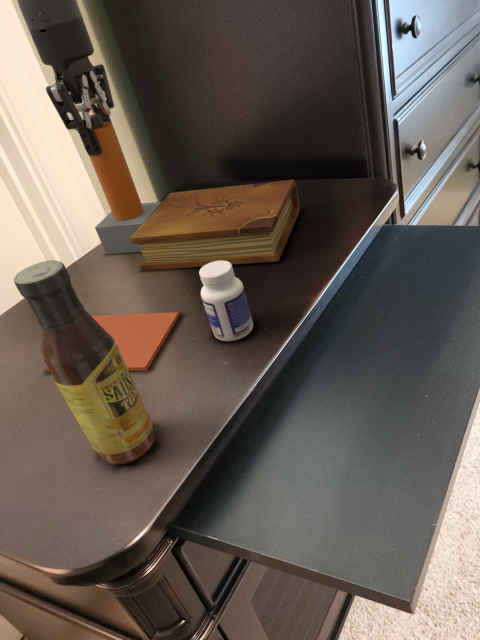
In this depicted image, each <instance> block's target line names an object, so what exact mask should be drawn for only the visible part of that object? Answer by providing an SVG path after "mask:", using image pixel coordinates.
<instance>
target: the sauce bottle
mask: <svg viewBox="0 0 480 640" xmlns="http://www.w3.org/2000/svg"><path fill="white" fill-rule="evenodd" d="M71 281H72V280H71V275H70V273H69V271H68V269H67V266H65V264H64V262H62V261H59V260H56V259H50V260H44V261H41V262H37V263H35V264H32V265H30V266H28V267H25V268H23V269H22V270H20V271H19V272H17V273H16V275H15V276H14V278H13V283H14V285H15V287H16V289H17V291H18V292H19V294H20V295H21V296H22V298H24V299H25V300H26V301H27V303H28V305H29V307H30V308H31V310H32V313H33V315H34V316H35V318H36V321H37V323H38V325H39V326H40V328H41V334H40V354H41V357H42V359H43V362H44V363H45V365H46V368H47V367H48V368H49V370H50V372H49V373H51V375H52V380H53V381H54V383H55V385H56V386H57V388H58V390H59V392H60V394H61V395H62V397H63V399H64V400H65V402H66V403H67V405H68V407H69V409H70V410H71V412H72V414H73V415H74V417H75V419H76V421H77V423H78V425H79V426H80V428H81V430H82V432H83V433H84V435H85V436H86V438H87V440H88V441H89V443H90V445H91V447H92V449H93V450H94V451H95V452H97V453H98V455H99V457H100V459H101V460H102V461H103V462H105V463H107V464H110V465H115V466H118V465H124V464H125V465H126V464H129V463H133V462H134V461H136V460H138V459H139V458H141V457H142V456H144V455H145V454H146V453H147V452H149V450H150V449H151V448H152V446H153V445H154V442H155V440H156V438H155V437H156V435H155V429H154V426H153V420H152V418H151V415H150V413H149V412H148V409H147V407H146V405H145V403H144V400H143V399H142V396H141V394H140V392H139V390H138V388H137V385H136V383H135V381H134V379H133V377H132V375H131V373H130V372H131V371H129V370H128V368H127V366H126V364H125V362H124V360H123V357H122V355H121V353H120V351H119V348H118V346H117V344H116V342H115V340H114V338H112V337H111V336H110V335H109V334H108V333H107V332H106V331H105V330H104V329H103V328H102V327H101V326H100V325H99V324H98V323H97V322H96V321H95V320H94V319H93V318H92V316H93V315H91V314H90V313H89V312H88V311H86V309H85V307H84V305H83V303H82V302H81V301H80V299H79V296H78V294H77V293H76V291H75V289H74V287H73V285H72V282H71Z"/></svg>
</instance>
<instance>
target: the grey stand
mask: <svg viewBox="0 0 480 640" xmlns="http://www.w3.org/2000/svg"><path fill="white" fill-rule="evenodd" d="M162 202H163V201H154V202H143V203H142V202H141V204H142V207H143V210H144V211H143V213H142V214H140V215H139V216H137V217H135V218H132V219H129V220H122V221H119V220H115V219H114V216H113V214H112V211H110V212H109V213H108V214H107V215H106V216H104V218H103V219H102V220H101V221H100V222H99V223H98V224H97V225H96V226H95V227H94V229H95V231H96V234H97V236H98V238H99V240H100V243H101V245H102V247H103V250H104V252H105V254H106V255H115V254H116V255H117V254H131V253H142V252H141V249H140V247H139V244H138V243H137V244H132V243H131V240H130V238H131V237H132V235H133V234H134V233H135V232H136V231H137V230H138V229H139V228H140V227H141V225H142V224H143V223H144V222H145V221H146V220H147V219H148V218H149V216H150V215H151V214H152V213H153V212H154V211H155V210H156V209H157V208H158V206H159V205H160V204H161V203H162Z"/></svg>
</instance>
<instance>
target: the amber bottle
mask: <svg viewBox="0 0 480 640" xmlns="http://www.w3.org/2000/svg"><path fill="white" fill-rule="evenodd" d="M89 115H90V114H89ZM90 120H91V125H92V127H91V128H93V129H94V131H95V134H96V137H97V139H98V142H99V144H100V147H101V150H102V153H101V154H99V155H95V156H90V155H88V157H89V160H90V162H91V165H92V167H93V170H94V172H95V174H96V176H97V179H98V182H99V184H100V186H101V188H102V189H101V190H102V192H103V194H104V196H105V199H106V201H107V204H108V206H109V209H110V210H111V211H112V214H113V216H114V219H115V220H119V221H122V220H129V219H132V218H135V217H137V216H139V215H140V214H142V213H143V211H144V210H143V207H142V202H141V199H140V195H139V193H138V190H137V188H136V184H135V182H134V179H133V176H132V173H131V171H130V168H129V166H128V163H127V160H126V157H125V154H124V152H123V150H122V149H123V148H122V146H121V143H120V141H119V138H118V135H117V133H116V130H115V127H114V124H113V122H112V121H111V122H112V123H111V122H103V121H102V118H101V116H100V114H95V115H94V114H91V115H90ZM111 211H110V212H111Z"/></svg>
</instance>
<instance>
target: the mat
mask: <svg viewBox="0 0 480 640" xmlns="http://www.w3.org/2000/svg"><path fill="white" fill-rule="evenodd" d="M91 316H92V318H93V319H94V320H95V321H96V322H97V323H98V324H99V325H100V326H101V327H102V328H103V329H104V330H105V331H106V332H107V333H108V334H109V335H110V336H111V337H112V338H114V340H115V342H116V344H117V346H118V348H119V351H120V353H121V355H122V357H123V360H124V362H125V364H126V366H127V368H128V370H129V372H147V371H148V370H149V368H150V366H151V365H152V363H153V361H154V360H155V358H156V356H157V355H158V353H159V351H160V350H161V348H162V346H163V344H164V343H165V341H166V339H167V338H168V337H169V335H170V332H171V331H172V329H173V328H174V326H175V324H176V323H177V321H178V320H179V318H180V312H179V311H172V312H150V313H149V312H148V313H147V312H146V313H127V314H126V313H125V314H124V313H123V314H122V313H121V314H102V315H101V314H98V315H91ZM45 369H46V371H47V372H48V373H51V372H50V370H49V368H48V367H47V366H46V368H45Z"/></svg>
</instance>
